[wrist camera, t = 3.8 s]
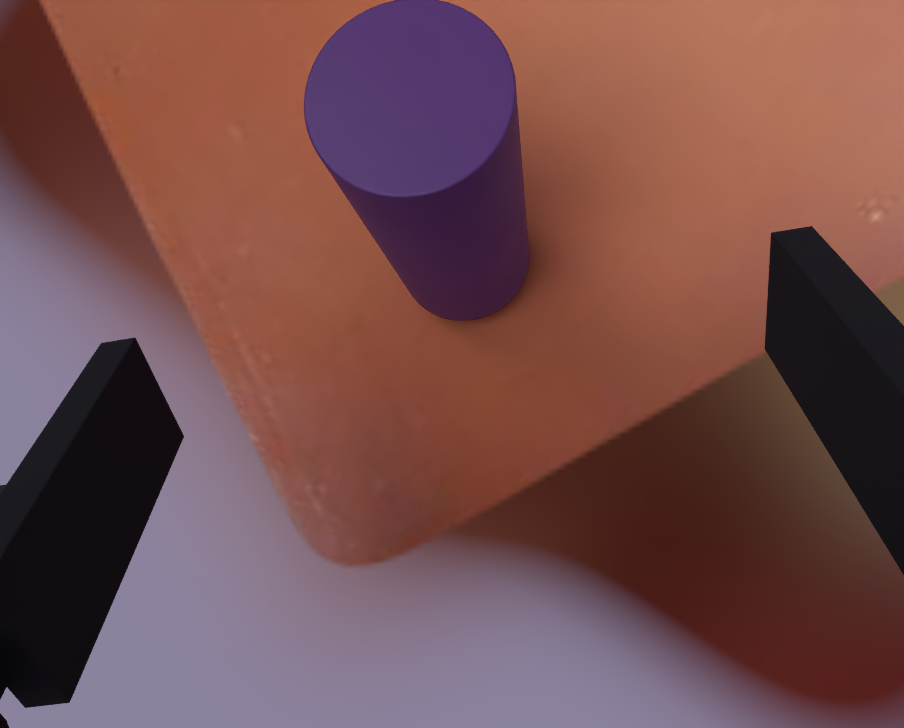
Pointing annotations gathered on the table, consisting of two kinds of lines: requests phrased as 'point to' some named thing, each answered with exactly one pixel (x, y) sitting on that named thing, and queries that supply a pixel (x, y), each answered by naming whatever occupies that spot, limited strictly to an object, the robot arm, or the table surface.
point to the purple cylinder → (427, 149)
